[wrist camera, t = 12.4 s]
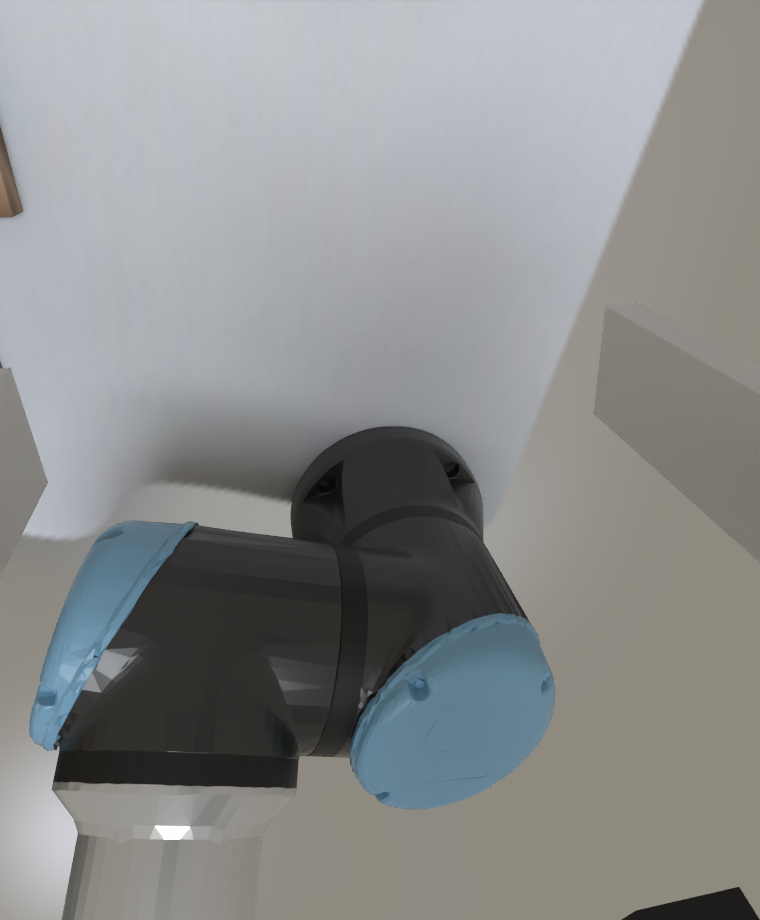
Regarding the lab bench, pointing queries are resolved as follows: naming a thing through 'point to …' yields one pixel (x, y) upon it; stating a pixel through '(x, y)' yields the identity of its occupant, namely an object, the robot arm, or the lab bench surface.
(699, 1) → the lab bench surface
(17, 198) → the wooden square frame
